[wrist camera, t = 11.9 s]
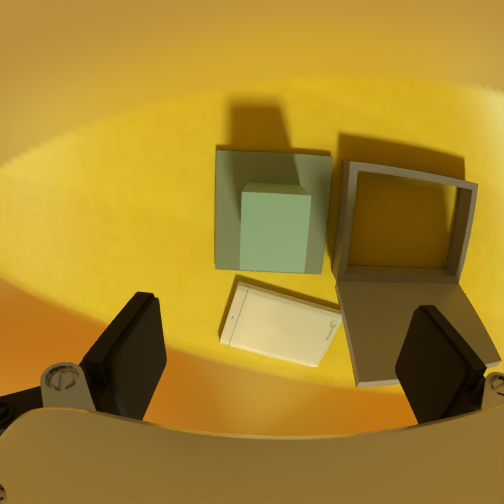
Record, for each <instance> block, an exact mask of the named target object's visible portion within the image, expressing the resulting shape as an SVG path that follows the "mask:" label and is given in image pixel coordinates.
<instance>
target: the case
mask: <svg viewBox="0 0 504 504" xmlns="http://www.w3.org/2000/svg"><path fill="white" fill-rule="evenodd" d="M358 171H365V172H373V173H381V174H388V175H394V176H401V177H407V178H413V179H419V180H425V181H431V182H436V183H441V184H446V185H451V186H456V187H460V191H459V199H458V206H457V212H456V219H455V224H454V230H453V235H452V240H451V245H450V250H449V254H448V259H447V263H446V267H445V269H438V268H411V267H387V266H363V265H347V261H348V254H349V247H350V240H351V232H352V224H353V216H354V207H355V197H356V187H357V175H358ZM477 189H478V184H476V183H472V182H468V181H464V180H460V179H455V178H451V177H446V176H441V175H436V174H431V173H426V172H421V171H415V170H410V169H404V168H398V167H391V166H385V165H378V164H371V163H364V162H356V161H347V160H343V170H342V183H341V195H340V205H339V215H338V225H337V233H336V242H335V250H334V257H333V265H332V273H333V275H334V277H335V279H336V281H352V282H391V283H459V280H460V276H461V272H462V269H463V265H464V261H465V256H466V252H467V248H468V243H469V238H470V233H471V228H472V222H473V217H474V210H475V204H476V197H477Z"/></svg>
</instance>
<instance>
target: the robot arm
mask: <svg viewBox="0 0 504 504" xmlns="http://www.w3.org/2000/svg"><path fill="white" fill-rule="evenodd" d="M166 361H167V357H166V350H165V343H164V336H163V329H162V321H161V313H160V304H159V299H158V298H156V297H154V294H153V293H147V292H136V294H135V295H134V296H133V297H132V298H131V299H130V301H129V302H128V303H127V304H126V305H125V307H124V308H123V309H122V310H121V311H120V313H119V314H118V315H117V316H116V317H115V319H114V320H113V321H112V322H111V323H110V325H109V326H108V327H107V328H106V330H105V331H104V332H103V333H102V335H101V336H100V337H99V338H98V340H97V341H96V342H95V343H94V345H93V346H92V347H91V348H90V350H89V351H88V352H87V354H86V355H85V356H84V357H83V360H82V361H81V363H80V364H79V365H77V364H74V363H71V362H61V363H57V364H54V365H52V366H50V367H49V368H47V369H46V370H45V371H44V372H43V374H42V376H41V381H40V384H41V386H38V387H35V388H31V389H27V390H24V391H20V392H16V393H12V394H8V395H5V396H1V397H0V504H504V374H503V373H500V372H492V373H489V374H488V375H487V377H486V378H485V377H484V376H483V374H484V373H485V371H486V369H487V367H486V365H485V364H484V363H483V362H482V360H481V359H480V358H479V357H478V355H477V354H476V353H475V352H474V350H473V349H472V348H471V347H470V346H469V344H468V343H467V342H466V341H465V340H464V338H463V337H462V336H461V335H460V334H459V333H458V331H457V330H456V329H455V328H454V327H453V326H452V325H451V323H450V322H449V321H448V320H447V319H446V318H445V317H444V315H443V314H442V313H441V312H440V311H439V310H438V309H437V308H436V307H435V306H434V305H420V306H419V307H418V308H417V309H415V310H414V312H413V315H412V319H411V322H410V325H409V328H408V331H407V334H406V337H405V340H404V343H403V346H402V348H401V351H400V354H399V357H398V359H397V362H396V365H395V373H396V375H397V378H398V380H399V382H400V384H401V386H402V388H403V390H404V392H405V395H406V397H407V399H408V401H409V403H410V406H411V408H412V410H413V412H414V414H415V417H416V419H417V421H418V424H417V425H412V426H406V427H400V428H393V429H386V430H379V431H370V432H363V433H362V432H361V433H351V434H337V435H318V436H265V435H244V434H231V433H221V432H211V431H203V430H195V429H187V428H181V427H175V426H169V425H162V424H157V423H151V422H147V421H142V420H143V417H144V415H145V412H146V410H147V408H148V405H149V403H150V401H151V398H152V396H153V393H154V391H155V389H156V387H157V384H158V382H159V380H160V377H161V375H162V373H163V370H164V368H165V366H166Z"/></svg>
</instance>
